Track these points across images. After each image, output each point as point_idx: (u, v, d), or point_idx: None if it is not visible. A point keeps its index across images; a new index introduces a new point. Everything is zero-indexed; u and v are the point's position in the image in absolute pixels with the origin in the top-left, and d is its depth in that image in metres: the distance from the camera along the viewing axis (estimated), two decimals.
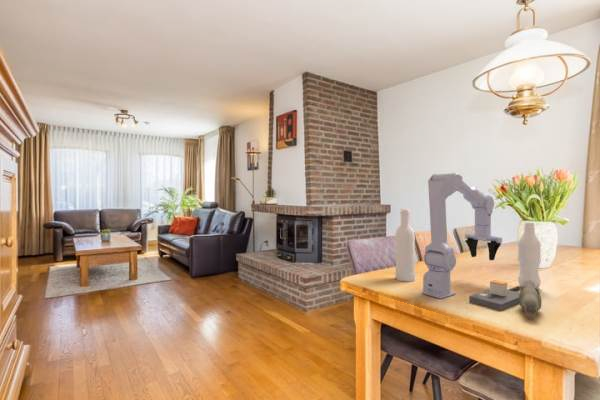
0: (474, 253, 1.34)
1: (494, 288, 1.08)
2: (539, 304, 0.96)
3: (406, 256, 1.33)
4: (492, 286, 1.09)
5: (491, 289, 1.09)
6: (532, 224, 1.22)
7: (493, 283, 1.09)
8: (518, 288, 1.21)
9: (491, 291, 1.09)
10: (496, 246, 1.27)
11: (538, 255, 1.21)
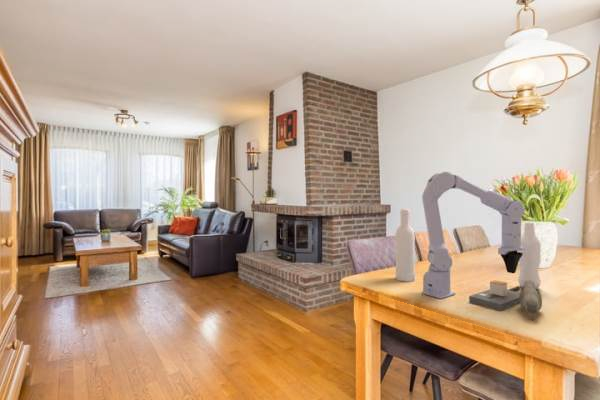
0: None
1: (494, 288, 1.08)
2: (540, 304, 0.96)
3: (406, 256, 1.33)
4: (492, 286, 1.09)
5: (491, 289, 1.09)
6: (532, 224, 1.22)
7: (493, 283, 1.09)
8: (518, 288, 1.21)
9: (491, 291, 1.09)
10: None
11: (538, 255, 1.21)
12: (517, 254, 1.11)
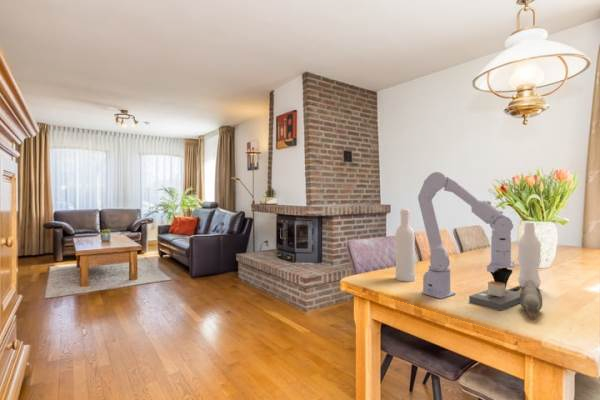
0: None
1: (492, 289, 1.08)
2: (540, 304, 0.96)
3: (406, 256, 1.33)
4: (490, 287, 1.08)
5: (489, 290, 1.09)
6: (532, 224, 1.22)
7: (491, 284, 1.08)
8: (518, 288, 1.21)
9: (489, 292, 1.09)
10: None
11: (538, 255, 1.21)
12: (507, 271, 1.07)
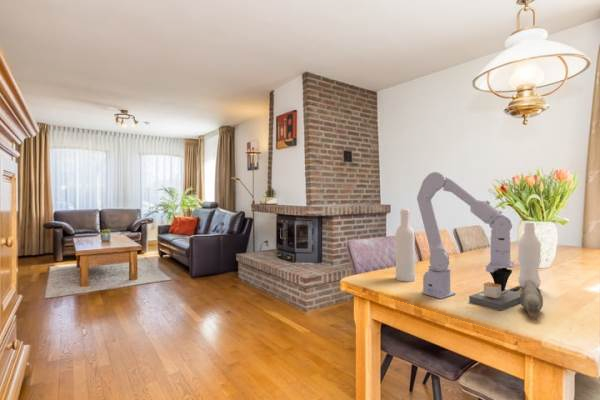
0: None
1: (488, 290, 1.06)
2: (541, 304, 0.97)
3: (406, 256, 1.33)
4: (486, 288, 1.07)
5: (485, 291, 1.07)
6: (532, 224, 1.22)
7: (487, 285, 1.06)
8: (518, 288, 1.21)
9: (485, 293, 1.07)
10: None
11: (538, 255, 1.21)
12: (506, 271, 1.07)
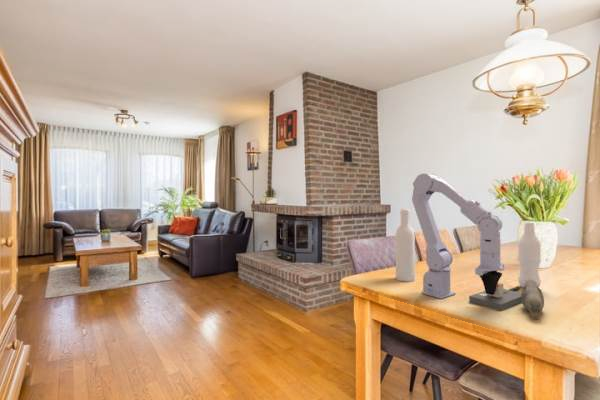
0: None
1: None
2: (542, 303, 0.97)
3: (406, 256, 1.33)
4: None
5: None
6: (532, 224, 1.22)
7: None
8: (518, 288, 1.21)
9: None
10: None
11: (538, 255, 1.21)
12: (496, 274, 1.03)
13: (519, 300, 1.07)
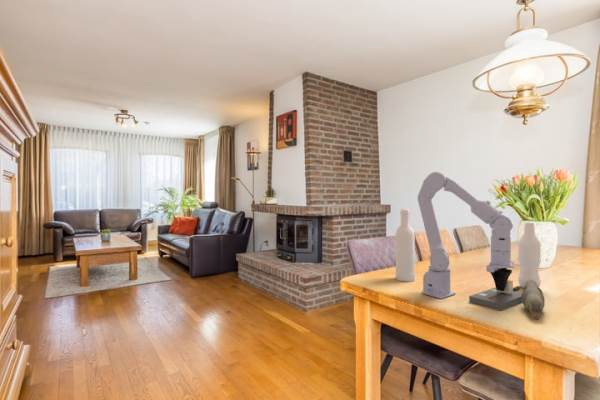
0: None
1: None
2: (543, 303, 0.97)
3: (406, 256, 1.33)
4: None
5: None
6: (532, 224, 1.22)
7: None
8: (518, 288, 1.21)
9: None
10: None
11: (538, 255, 1.21)
12: (506, 271, 1.07)
13: (519, 300, 1.07)
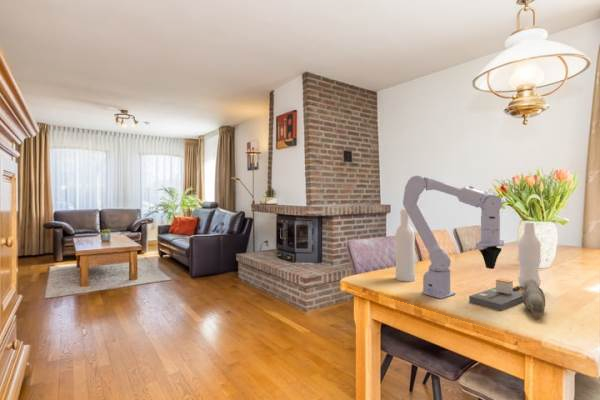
0: None
1: (500, 286, 1.11)
2: (544, 303, 0.97)
3: (406, 256, 1.33)
4: (498, 284, 1.11)
5: (497, 287, 1.11)
6: (532, 224, 1.22)
7: (499, 281, 1.11)
8: (518, 288, 1.21)
9: (497, 289, 1.11)
10: None
11: (538, 255, 1.21)
12: (495, 249, 1.09)
13: (519, 300, 1.07)
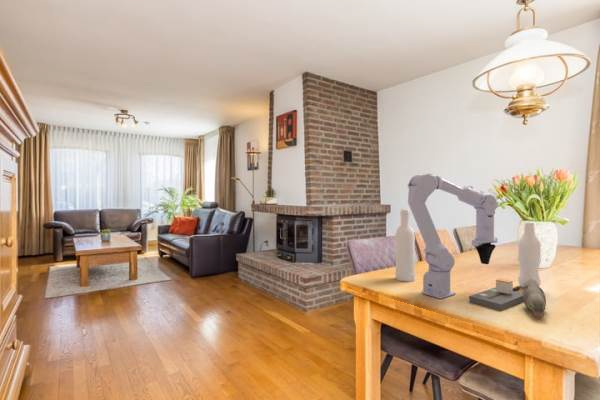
0: None
1: (500, 286, 1.11)
2: (544, 303, 0.97)
3: (406, 256, 1.33)
4: (498, 284, 1.11)
5: (497, 287, 1.11)
6: (532, 224, 1.22)
7: (499, 281, 1.11)
8: (518, 288, 1.21)
9: (497, 289, 1.11)
10: None
11: (538, 255, 1.21)
12: (490, 246, 1.17)
13: (519, 300, 1.07)
